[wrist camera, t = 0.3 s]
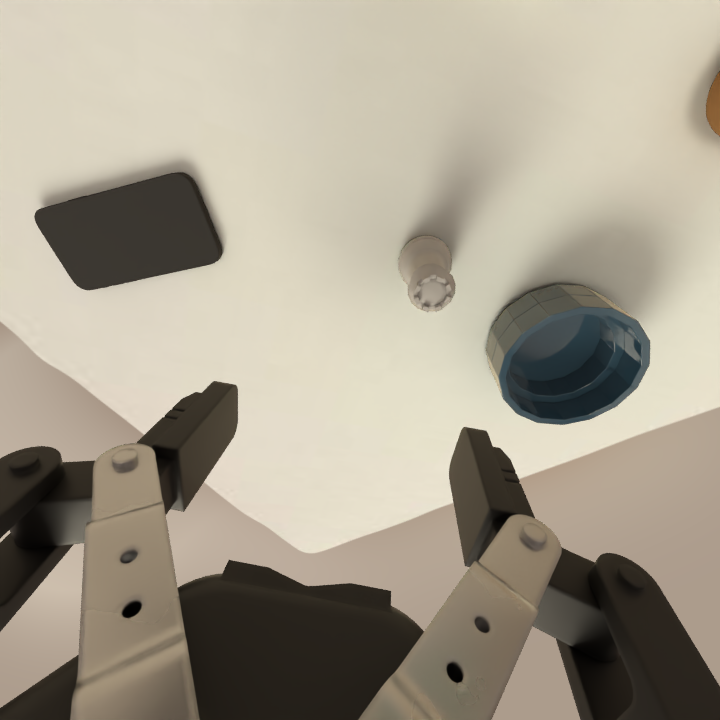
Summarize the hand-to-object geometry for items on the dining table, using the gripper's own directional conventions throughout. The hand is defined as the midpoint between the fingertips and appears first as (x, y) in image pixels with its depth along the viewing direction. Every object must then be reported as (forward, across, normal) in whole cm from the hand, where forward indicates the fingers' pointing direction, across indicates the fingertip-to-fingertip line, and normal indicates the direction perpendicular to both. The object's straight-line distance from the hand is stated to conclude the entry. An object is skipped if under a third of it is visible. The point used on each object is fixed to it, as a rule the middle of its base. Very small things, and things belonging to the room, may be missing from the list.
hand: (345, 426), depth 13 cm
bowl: (+22, -17, +3) cm, 28 cm away
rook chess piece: (+22, -4, -3) cm, 22 cm away
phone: (+21, +22, -1) cm, 30 cm away
